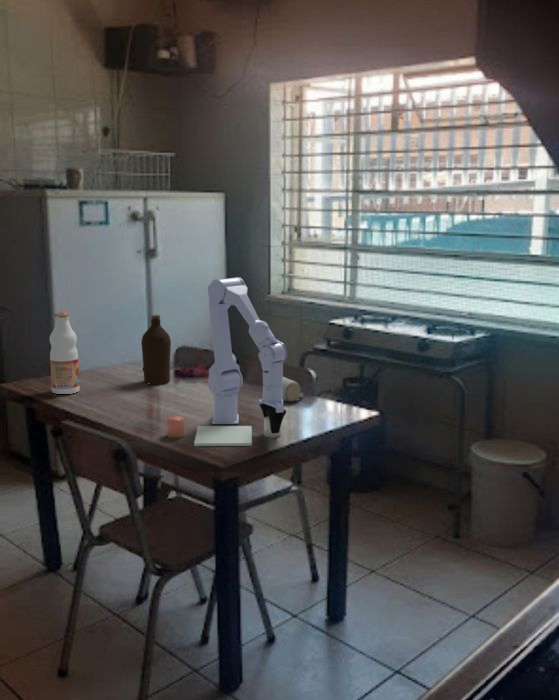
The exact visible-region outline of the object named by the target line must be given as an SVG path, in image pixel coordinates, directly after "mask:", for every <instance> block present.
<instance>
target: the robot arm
mask: <svg viewBox="0 0 559 700" xmlns="http://www.w3.org/2000/svg"><path fill="white" fill-rule="evenodd" d="M207 293H208V309H209V318H210V319H209V320H210V327H211V337H212V345H213V347H212V348H213V355H214V356H213V357H214V363H213V364H212V365H211V367H210V368H209V369H208V379H207V385H208V389H209V391H211V394H213V414H212V415H213V416H212V422H211V423H212V425H238V424H239V423H240V422H239V420H240V419H239V418H240V414H239V413H238V393H239V392H240V388H241V387H242V386H243V381H244V379H243V374H242V373H241V370H240V365H239V363H236V362H235V360H233V359H234V358H233V351H232V339H231V331H230V330H231V329H230V322H229V312H228V309H229V308H230V307H231V306H235V307H236V309H237V310H238V312H239V313H240V315H241V316H242V317H243V319H244V320H245V322H246V323H247V324H248V327H249V328H248V334H249V335H250V337H251V339H252V341H253V342H254V344H255V345H256V347H257V349H258V351H259V352H258V358H259V359H258V360H259V361H260V363H261V365H260V366H261V370H262V399H258V403H259V408H260V410H261V411H262V412H261V413H262V415H263V418H264V417H267V416H268V417H269V421H270V428H271V433H279V431H280V427H281V428H282V422H283V419H284V417H285V416H286V414H287V410H286V409H284V400H283V377H284V362H285V361H286V359H287V357H288V350H287V347H286V344H285V343H284V342H282V341H280V340H279V339H277V338H276V337H275V335H274V333H273V332H272V331H271V329H270V326H269V324H268V323H267V322H266V321H265V320H261V319H260V318H259V316H258V314H257V312H256V310H255V308H254V306H253V303H252V302H251V300H250V298H249V296H248V286H247V285H246V283H245V281H244V280H243V279H242V277H239V276H235V277H231V278H220V279H219V278H217V279H215V278H214V279H213V280H211V282H210V283H209V285H208V286H207Z"/></svg>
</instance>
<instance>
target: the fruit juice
mask: <svg viewBox="0 0 559 700" xmlns="http://www.w3.org/2000/svg"><path fill="white" fill-rule="evenodd" d="M70 315H71V314H70V312H65V311H64V312H62V311H61V312H55V314H54V318H55V324H54V328H53V329H52V332H51V333H50V335H49V343H50V347H51V348H50V351H49V361H50V362H49V363H50V377H51V378H50V380H51V392H52V394H53V393H56V394H71V393H75V394H77V393H76V392H78V391H79V392H80V372H79V371H80V368H79V365H80V364H79V353H78V351H79V350H78V349H77V343H78V337H77V334H76V332H75V331H74V330H73V329H72V325H71V323H70V320H69V319H70V317H71V316H70ZM79 392H78V393H79ZM56 394H55V395H56ZM71 395H72V394H71Z"/></svg>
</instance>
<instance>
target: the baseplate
mask: <svg viewBox="0 0 559 700" xmlns="http://www.w3.org/2000/svg"><path fill="white" fill-rule="evenodd" d="M252 427H253V426H252V425H197V429H196V432H195V437H194V442H193V446H194V447H252V446H253V435H252V434H253V433H252V432H253V431H252V430H253V428H252Z"/></svg>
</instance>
